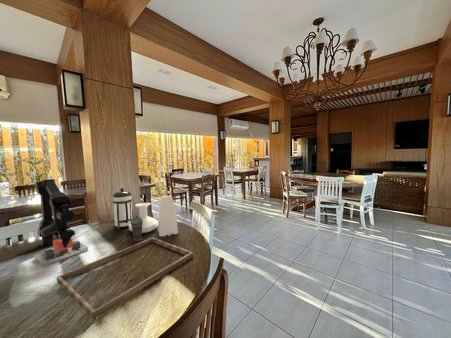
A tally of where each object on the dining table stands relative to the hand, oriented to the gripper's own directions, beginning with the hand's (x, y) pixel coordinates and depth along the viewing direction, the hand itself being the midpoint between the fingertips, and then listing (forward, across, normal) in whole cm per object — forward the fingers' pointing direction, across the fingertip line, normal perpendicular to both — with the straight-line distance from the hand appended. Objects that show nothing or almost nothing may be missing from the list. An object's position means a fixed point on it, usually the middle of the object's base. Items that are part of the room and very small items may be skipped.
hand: (62, 245), depth 107 cm
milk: (+6, +23, +53) cm, 58 cm away
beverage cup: (+6, +16, +34) cm, 38 cm away
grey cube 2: (+3, 0, 0) cm, 3 cm away
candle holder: (+6, +5, +46) cm, 47 cm away
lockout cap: (+1, 0, 0) cm, 1 cm away
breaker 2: (+3, 0, +6) cm, 7 cm away
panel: (+5, -1, 0) cm, 6 cm away
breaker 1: (+3, 0, -6) cm, 7 cm away
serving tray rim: (+5, +44, +14) cm, 47 cm away
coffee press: (+6, -14, +42) cm, 45 cm away
